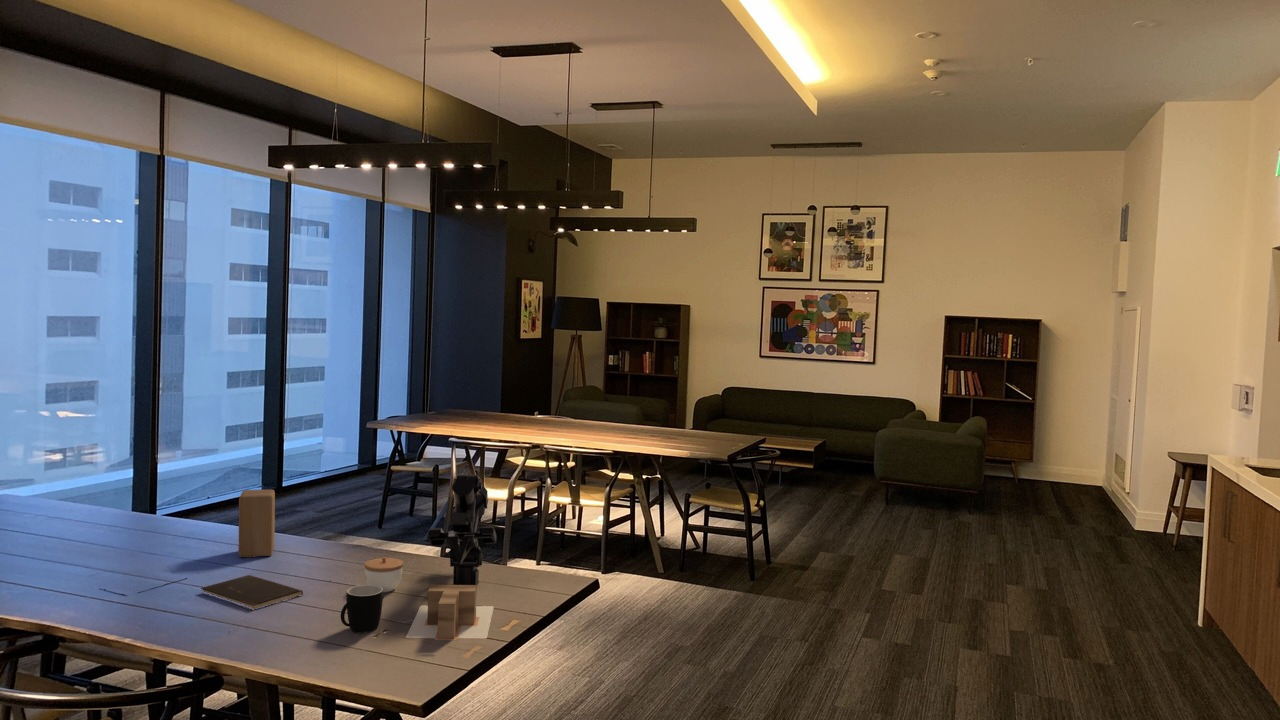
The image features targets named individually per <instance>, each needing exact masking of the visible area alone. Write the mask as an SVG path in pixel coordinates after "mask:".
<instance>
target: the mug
mask: <svg viewBox="0 0 1280 720" xmlns="http://www.w3.org/2000/svg"><path fill="white" fill-rule="evenodd" d="M345 595H346V597H345V598H346V599H345V601H346V603H344V605H343V607H342V609H341V611H340V621H341V623H342V624H343V626H346V627H349V628H350V630H351V631H352V632H353V633H356V634H364V633H369V632H373V631H375V630H377V629H378V627H379V624H380V621H381V617H382V616H381V615H382V609H383V602H384V601H383V600H384V599H383V598H384V592H383V589H382V588H381V587H380V586H376V585H368V584H361V585H360V584H359V585H355V586H351V587H349V588H348V589H346V594H345ZM346 613H347V621H348V622H346V619H345V616H346Z"/></svg>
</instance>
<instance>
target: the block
mask: <svg viewBox="0 0 1280 720" xmlns="http://www.w3.org/2000/svg"><path fill="white" fill-rule="evenodd" d="M275 495H276V493H275V489H245V490H242V491H241V494H240V495H239V498H238V556H239V558H241V557H247V558H258V557H257V556H269V557H272V555H273V552H274V550H275V549H274V548H275V530H276V529H275V527H276V526H275V525H276V524H275V519H276V518H275V513H276V511H275V509H276V507H275V506H276V503H275V502H276V499H275V498H276V496H275ZM254 556H255V557H254Z"/></svg>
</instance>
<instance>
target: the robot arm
mask: <svg viewBox="0 0 1280 720" xmlns="http://www.w3.org/2000/svg"><path fill="white" fill-rule="evenodd" d="M451 491H452V492H453V493H452V495H453V498H454V502H455V506H454V512H451V513H449V517H448V520H449V521H448V525H449V526H450V527H449V528H450V531H447V532H444V530H443V527H441V528H440V527H434V528H430V529H428V530H427V532H426V533H427V534H426V538H427V540H428V542H429V545H430V546H433V547H436V546H437V547H440V546H444V544H446V541H447V542H448V545H449V548H450V550H449V565H450V566H449V567H450V568H451V567H453V572H452V573H453V575H452V576H453V577H452V584H451V585H477V586H478V584H479V583H480V581H479V573H480V572H479V571H480V570H479V569H478V568H479V567H481V566H483V553H482V552H483V551H482V550H481V547H480V546H479V540H478V539H482V542H483V543H484V544H485V545H489V544H490V545H492V544H496V543H497V533H496V530H495V527H494V526H492V525H488V526H487V525H486V526H480V527H479V529H477V528H478V523H479V518H481V517H482V516H484V515H485V511H486V509H488V505H489V501H488V500H489V499H488V496H489V495H488V494H489V493H488V490H487V488H486V487H485V486H484V485H483V482H482V478H480V476H479V475H478V474H456V477H454V479H453V482H452V485H451Z"/></svg>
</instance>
